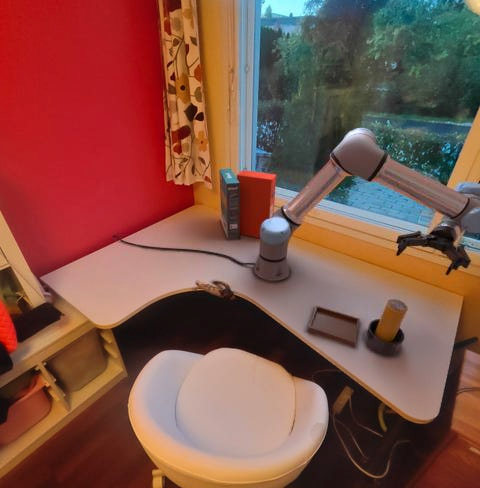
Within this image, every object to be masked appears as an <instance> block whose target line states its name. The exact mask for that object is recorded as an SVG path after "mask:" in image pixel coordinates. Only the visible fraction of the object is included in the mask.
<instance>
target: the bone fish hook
mask: <svg viewBox="0 0 480 488" xmlns="http://www.w3.org/2000/svg"><path fill="white" fill-rule="evenodd" d="M212 282H213V283H214V284H218V285H221V286H222V287H224V289H221V288H220V287H218V286H215V285H213V284H210V283H207V282H204V281H201V280H198V279H197V280H196V281H195V285H196V286H197V287H198V288H199V289H201V290H202V291H203V292H206V293H209V294H211V295H213V296H216V297H219V298H221V299H225V300H229V301H234V300H236V297H235V294H234V293H235V292H234V291H233V290H232V289H231V286H230V285H229V284H228V283H227V282H225V281H223V280H214V281H212Z"/></svg>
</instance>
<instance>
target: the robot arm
mask: <svg viewBox="0 0 480 488" xmlns="http://www.w3.org/2000/svg"><path fill="white" fill-rule="evenodd" d="M353 176H357V177H358V178H360V179H362V180H365V181H366V182H368V183H374V182H376V183H378V184H380V185H382V186H384V187H385V188H388V189H390V190H392V191H394V192H395V193H398V194H400V195H402V196H404V197H406V198H408V199H409V200H412V201H414V202H416V203H418V204H420V205H422V206H424V207H426V208H428V209H430V210H431V211H434V212H436V213H438V214H440V215H442V217H441V219H440V221H439V223H437V225H435V227H434V228H433V229H432V230H431V231H430V232H428V234H422V231H421V230H417V231H416V232H411V233H405V234H400V235H398V236H397V238H396V241H395V243H396V244H397V251H396V252H395V253H396V254H395V256H397V257H399V256H400V255H401V254H403V252H404V251H405V250H406V249H407V247H422V248H431V249H434V250H436V251H438V252H441V254H442V255H445V256H446V257H447V258H448V259H449V261H450V262H451V263H450V265H448V267H447V269H446V272H445V274H444V275H445V276H449V275H450V274H451V272H452V270H454V271H458V269H459V268H460V267H462V268H463V269H468V268H469V266H470V264H471V263H472V259H471V258H470V256H469V254H468V253H467V251H466V249H465V247H466V246H465V245H464V244H460V245H455V243H456V241H458V239H459V237H460V236H461V235H462V233H464V231H466V233H467V232H468V233H470V234H479V233H480V183H478V182H473V181H459V182H458V183H457V184H456V186H455V188H454V189H453V188H451V187H449V186H447V185H445V184H442V183H440V182H439V181H437V180H435V179H432V178H431V177H428V176H427V175H425V174H422V173H420V172H418V171H416V170H415V169H412V168H411V167H408V166H406V165H404V164H402V163H401V162H399V161H396V160H395V159H393V158H391V155H390V153H389V152H386V151H385V150H383V149H381V148H380V147H379V146H378V139H377V137H376V135H375V134H374V132H373V131H371V130H370V129H368V128H364V127H357V128H354V129H352V130H350V131H348V132H347V133H346V134H345V136H344V137H343V139H342V140H341V142H339V144H338V145H337V146H336V147H335V148H334V149H333V150H332V151H331V152H330V154H329V161H328V162H327V163H326V164H325V165H324V166H323V167H322V168H321V169H320V170H319V171H318V172H317V173H316V174H315V175H314V177H313V178H312V179H311V180H310V181H309V182H308V183H307V184H306V185H305V186H304V187H303V188H302V189H301V190H300V191H299V192H298V193H297V195H296V196H294V198H293V199H292V200H291V201H290V202H285V203H283V204H282V205H281V206H280V207H279V208H277V210H275V211H274V214H273V216H272V218H270V219H266V220H265V221H264V222H263V223H262V225H261V228H260V238H259V251H258V252H259V253H258V256H257V260H256V261H255V262H241V261H239V260H237V259H236V258H234V257H232V256H229V255H227V254H223V253H219V252H216V251H215V252H214V251H209V250H202V249H191V248H176V247H160V246H150V245H144V244H137V243H133V242H129V241H126V240H123V239H122V238H120V236H118V235H117V234H114V235H112V238H116V239H117V240H119V242H121V243H124V244H127V245H131V246H135V247H139V248H146V249H154V250H166V251H183V252H195V253H197V252H199V253H205V254H211V255H216V256H221V257H224V258H228V259H230V260H232V261H234V262H236V263H237V264H239V265H243V266H248V265H249V266H254V267H253V271H254V274H255V276H256V277H257V278H259V279H261V280H263V281H265V282H271V283H274V282H275V283H277V282H281V281H284V280H286V279H287V278H288V276H289V274H290V266H289V260H288V258H287V257H288V250H289V249H288V248H289V243H290V240H291V239H292V236H293V234H294V232H295V231H296V230H297V229H299V228H300V227H301V226H302V225H303V224H304V223H305V217H306V216H307V215H308V214H309V213H310V212H311V211H312V210H313V209H314V208H315V207H316V206H317V205H318V204H319V203H320V202H321V201H323V199H324V198H326V197H327V196H328V195H329V194H330V193H332V191H333V190H334V189H335V188H336V187H337V186H338V185H339V184H340V183H341V182H342V181H343V180H344V179H345V178H346V177H353Z"/></svg>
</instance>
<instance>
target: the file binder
mask: <svg viewBox="0 0 480 488" xmlns="http://www.w3.org/2000/svg"><path fill="white" fill-rule="evenodd" d="M236 178H237V180H238V181H239V235H243V236H244V235H245V236H250V237H254V238H259V239H260V228H261V225H262V223H263V222H264V221H265V220H266V219H270V218H272V216H273V214H274V213H275V211H274V210H275V201H276V200H275V199H276V187H277V186H276V184H277V174H274V173H268V172H261V171H251V170H245V169H244V170H241V171H239V172H238V173H237V174H236Z"/></svg>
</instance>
